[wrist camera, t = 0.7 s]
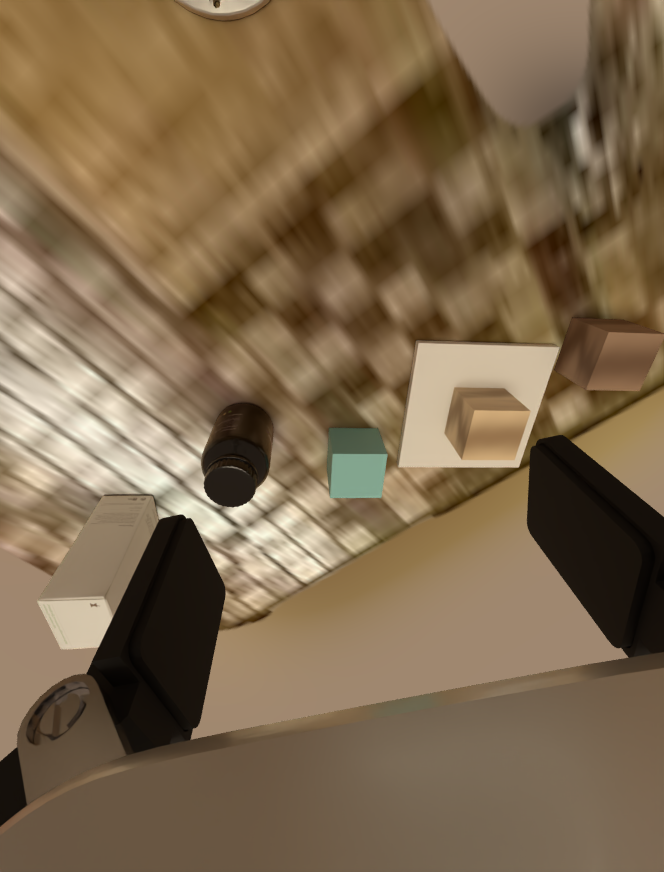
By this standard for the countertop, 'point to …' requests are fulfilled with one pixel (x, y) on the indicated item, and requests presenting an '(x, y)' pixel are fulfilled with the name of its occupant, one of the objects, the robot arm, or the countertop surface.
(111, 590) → the skincare box
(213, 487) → the supplement bottle
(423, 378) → the plate
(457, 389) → the oak cube
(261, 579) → the countertop surface
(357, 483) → the teal cube
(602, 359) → the walnut cube
